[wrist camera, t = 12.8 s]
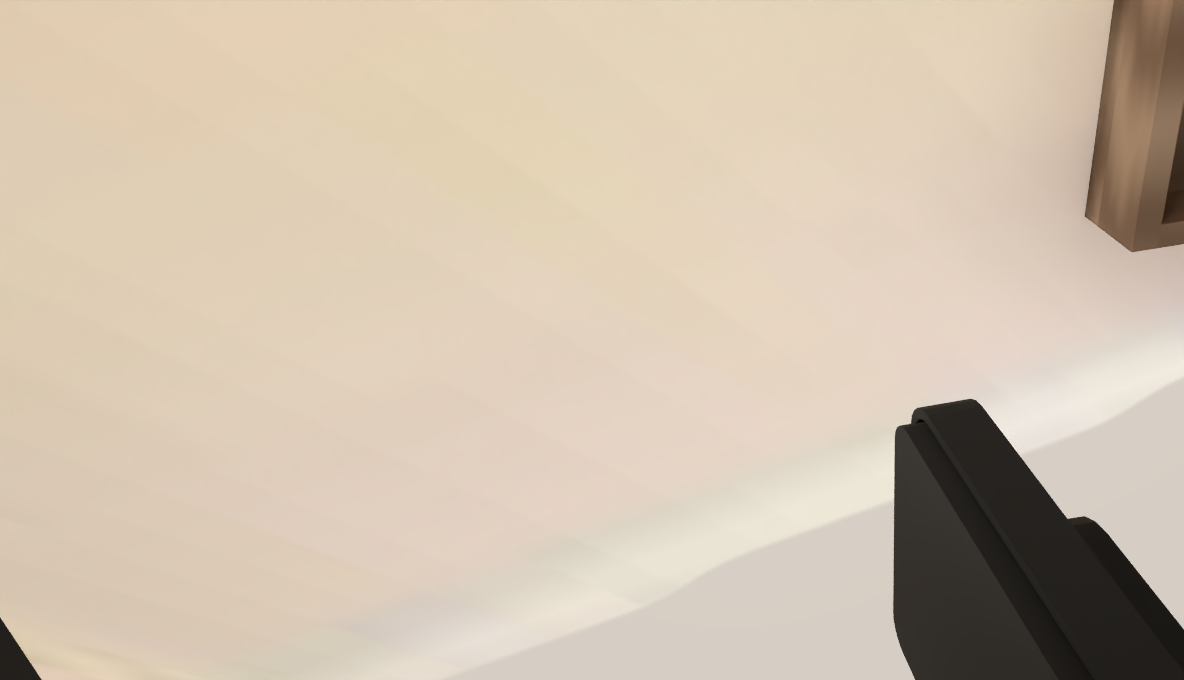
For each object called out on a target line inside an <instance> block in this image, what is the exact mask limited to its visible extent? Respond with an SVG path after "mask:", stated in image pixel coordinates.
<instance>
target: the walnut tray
mask: <svg viewBox="0 0 1184 680" xmlns="http://www.w3.org/2000/svg"><path fill="white" fill-rule="evenodd" d="M1085 217H1086V218H1088V219H1089V220H1090V221H1092V222H1093V223H1094V224H1096V225H1097V226H1098V227H1099V228H1101V229H1102V230H1103V231H1105V232H1106V233H1107V234H1109V235H1110V236H1111V237H1112V238H1114V239H1115V240H1116V241H1118V242H1119V243H1120V244H1122V245H1123V246H1124V247H1126V248H1127V249H1128V250H1129V251H1131V252H1136V251H1142V250H1148V249H1155V248H1161V247H1167V246H1174V245H1180V244H1184V0H1114V5H1113V13H1112V20H1111V28H1110V35H1109V42H1108V50H1107V57H1106V65H1105V72H1104V79H1103V87H1102V94H1101V101H1100V109H1099V116H1098V124H1097V131H1096V138H1095V146H1094V153H1093V161H1092V168H1091V175H1090V183H1089V190H1088V197H1087V205H1086V212H1085Z"/></svg>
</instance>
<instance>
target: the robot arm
mask: <svg viewBox="0 0 1184 680" xmlns="http://www.w3.org/2000/svg"><path fill="white" fill-rule="evenodd" d="M893 605H894V606H893V607H894V609H893V613H894V623H895V628H896V632H897V637H898V640H899V643H900V646H901V649H902V651H903V654H904V656H905V658H906V660H907V662H908V665H909V667H910V669H911V671H912V673H913V676H914V678H915V680H1184V629H1183V628H1182V627H1181V626H1180V624H1179V623H1178V622H1177V620H1176V619H1175V618H1174V617H1173V615H1172V614H1171V613H1170V612H1169V611H1168V609H1167V608H1166V607H1165V605H1164V604H1163V603H1162V602H1161V600H1160V599H1159V598H1158V597H1157V595H1156V594H1155V593H1154V592H1153V590H1152V589H1151V588H1150V587H1149V585H1148V584H1147V583H1146V582H1145V580H1144V579H1143V578H1142V577H1141V575H1140V574H1139V573H1138V571H1137V570H1136V569H1135V568H1134V566H1133V565H1132V564H1131V563H1130V561H1129V560H1128V559H1127V558H1126V557H1125V555H1124V554H1123V553H1122V551H1121V550H1120V549H1119V548H1118V546H1117V545H1116V544H1115V543H1114V541H1113V540H1112V539H1111V538H1110V536H1109V535H1108V534H1107V533H1106V532H1105V531H1104V530H1103V529H1102V528H1101V527H1100V526H1099V525H1098V524H1097V523H1096V522H1095V521H1093V520H1091V519H1089V518H1087V517H1077V518H1071V519H1067V518H1066V516H1065V515H1064V514H1063V513H1062V511H1061V510H1060V509H1059V508H1058V506H1057V505H1056V503H1055V502H1054V501H1053V499H1052V498H1051V497H1050V495H1049V494H1048V493H1047V492H1046V490H1045V489H1044V487H1043V486H1042V485H1041V483H1040V482H1039V481H1038V480H1037V478H1036V477H1035V476H1034V474H1033V473H1032V472H1031V470H1030V469H1029V468H1028V466H1027V465H1026V464H1025V462H1024V461H1023V460H1022V458H1021V457H1020V456H1019V454H1018V453H1017V452H1016V451H1015V449H1014V448H1013V447H1012V445H1011V444H1010V443H1009V441H1008V440H1007V439H1006V437H1005V436H1004V435H1003V433H1002V432H1001V431H1000V429H999V428H998V427H997V425H996V424H995V423H994V421H993V420H992V419H991V418H990V416H989V415H988V414H987V412H986V411H985V410H984V408H983V407H982V406H981V405H980V404H979V403H978V402H977V401H976V400H973V399H967V400H961V401H955V402H949V403H944V404H938V405H932V406H926V407H920V408H917V409H915V410H914V412H913V415H912V420H911V424H908V425H902V426H899V427H897V429H896V432H895V489H894V602H893ZM0 680H41V678H40V677H39V675H38V674H37V672H36V671H35V669H34V668H33V666H32V665H31V663H30V662H29V660H28V659H27V657H26V656H25V654H24V653H23V651H22V650H21V648H20V647H19V645H18V644H17V642H16V641H15V639H14V638H13V636H12V635H11V633H10V632H9V630H8V629H7V627H6V626H5V624H4V623H3V621H2V620H1V618H0Z"/></svg>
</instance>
